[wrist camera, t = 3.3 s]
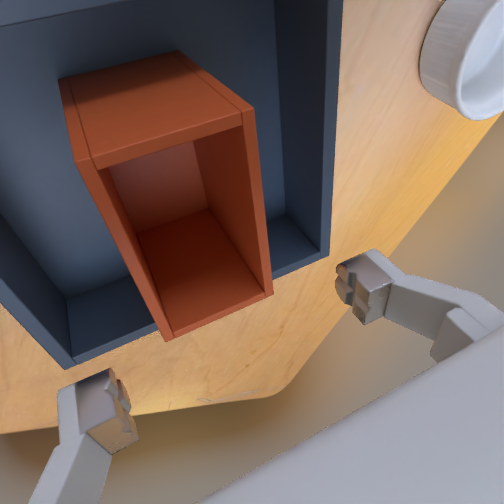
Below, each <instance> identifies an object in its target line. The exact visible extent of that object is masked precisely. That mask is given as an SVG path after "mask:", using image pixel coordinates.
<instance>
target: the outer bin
mask: <svg viewBox="0 0 504 504" xmlns="http://www.w3.org/2000/svg"><path fill="white" fill-rule="evenodd" d="M342 12H343V0H0V303H1V304H2V305H3V306H4V307H5V308H6V309H7V310H8V311H9V313H10V314H11V315H12V316H13V317H14V318H15V319H16V320H17V321H18V322H19V323H20V324H21V325H22V326H23V327H24V328H25V329H26V330H27V331H28V332H29V333H30V335H31V336H32V337H33V338H34V339H35V340H36V341H37V342H38V343H39V344H40V345H41V346H42V347H43V348H44V349H45V350H46V351H47V352H48V353H49V354H50V355H51V356H52V358H53V359H54V360H55V361H56V362H57V363H58V364H59V365H60V366H61V367H62V368H63V369H64V370H66V369H69V368H71V367H73V366H76V365H77V364H81V363H83V362H85V361H88V360H90V359H92V358H95V357H97V356H99V355H102V354H104V353H106V352H108V351H111V350H113V349H115V348H118V347H120V346H122V345H125V344H127V343H129V342H131V341H134V340H136V339H138V338H141V337H143V336H145V335H148V334H150V333H152V332H154V331H157V330H159V329H158V327H157V325H156V323H155V321H154V319H153V317H152V315H151V313H150V311H149V309H148V307H147V305H146V303H145V301H144V299H143V297H142V295H141V293H140V291H139V289H138V287H137V285H136V283H135V281H134V279H133V277H132V276H131V274H130V272H129V270H128V268H127V266H126V264H125V262H124V260H123V258H122V256H121V254H120V252H119V250H118V248H117V246H116V244H115V242H114V240H113V238H112V236H111V234H110V232H109V230H108V228H107V226H106V224H105V222H104V220H103V218H102V216H101V214H100V212H99V210H98V208H97V206H96V204H95V202H94V200H93V199H92V197H91V195H90V193H89V191H88V189H87V187H86V185H85V183H84V181H83V179H82V177H81V175H80V173H79V171H78V169H77V167H76V165H75V163H74V158H73V153H72V148H71V144H70V139H69V134H68V129H67V124H66V119H65V115H64V110H63V105H62V100H61V95H60V91H59V86H58V80H59V79H63V78H67V77H71V76H75V75H79V74H83V73H87V72H91V71H95V70H99V69H103V68H107V67H111V66H115V65H119V64H123V63H127V62H131V61H136V60H140V59H144V58H148V57H152V56H156V55H160V54H164V53H168V52H172V51H176V50H179V51H180V52H182V53H183V54H184V55H186V56H187V57H188V58H190V59H191V60H192V61H193V62H195V63H196V64H197V65H199V66H200V67H201V68H203V69H204V70H205V71H207V72H208V73H209V74H210V75H212V76H213V77H214V78H216V79H217V80H218V81H220V82H221V83H222V84H224V85H225V86H226V87H227V88H229V89H230V90H231V91H233V92H234V93H235V94H237V95H238V96H239V97H241V98H242V99H243V100H244V101H246V102H247V103H248V104H250V105H251V106H252V107H253V108H254V113H255V122H256V132H257V141H258V151H259V160H260V169H261V179H262V188H263V198H264V207H265V216H266V226H267V235H268V245H269V254H270V263H271V273H272V280H274V279H276V278H279V277H281V276H283V275H286V274H288V273H290V272H293V271H295V270H297V269H299V268H302V267H304V266H306V265H309V264H311V263H313V262H316V261H318V260H320V259H322V258H324V257H327V256H329V251H330V233H331V214H332V196H333V178H334V159H335V141H336V122H337V104H338V86H339V67H340V49H341V31H342Z"/></svg>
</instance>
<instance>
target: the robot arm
mask: <svg viewBox="0 0 504 504" xmlns="http://www.w3.org/2000/svg"><path fill="white" fill-rule="evenodd" d="M336 273H337V274H338V277H337V278H336V280H335V288H336V291H337V294H338V295H339V297H340V299H341V300H342V301H343V302H344V303H345V304H348V305H350V306H352V312H353V313H354V315H355V316H356V317H357V318H358V319H359V320H360V321H361V322H362V324H363V325H366V324H368V323H370V322H372V321H374V320H376V319H378V318H381V317H382V316H384V317H385V318H386V319H389V320H391V321H393V322H395V323H397V324H399V325H402V326H404V327H406V328H408V329H410V330H412V331H415V332H417V333H419V334H421V335H423V336H425V337H428V338H430V339H432V340H434V343H433V346H432V348H431V350H430V356H431V357H432V358H433V359H434V360H435V361H436V362H437V364H435V365H434V366H432V367H430V368H428V369H427V370H425V371H423V372H421V373H420V374H418V375H416V376H415V377H413V378H411V379H409V380H408V381H406V382H404V383H402V384H401V385H399V386H398V387H395V388H394V389H392V390H390V391H389V392H387V393H385V394H383V395H382V396H380V397H378V398H376V399H375V400H373V401H371V402H369V403H368V404H366V405H364V406H362V407H361V408H359V409H357V410H356V411H354V412H352V413H350V414H349V415H347V416H345V417H343V418H342V419H340V420H338V421H337V422H335V423H333V424H331V425H330V426H328V427H326V428H324V429H323V430H321V431H319V432H317V433H316V434H314V435H312V436H310V437H309V438H307V439H305V440H303V441H302V442H300V443H299V444H296V445H295V446H293V447H291V448H290V449H288V450H286V451H284V452H283V453H281V454H280V455H277V456H276V457H274V458H272V459H270V460H269V461H267V462H266V463H264V464H262V465H260V466H258V467H257V468H255V469H253V470H251V471H250V472H248V473H247V474H244V475H243V476H241V477H239V478H238V479H236V480H234V481H232V482H231V483H229V484H227V485H225V486H224V487H222V488H220V489H218V490H217V491H215V492H213V493H212V494H210V495H208V496H206V497H205V498H203V499H201V500H199V501H198V502H196V503H194V504H504V314H503V313H502V312H501V311H500V310H498V309H497V308H496V307H495V306H493V305H492V304H490V303H489V302H488V301H487V300H486V299H484V298H483V297H482V296H480V295H479V294H476V293H473V292H469V291H466V290H462V289H459V288H456V287H452V286H449V285H445V284H442V283H438V282H435V281H432V280H428V279H425V278H422V277H418V276H414V275H406V274H404V273H403V272H402V271H401V270H400V269H399V268H398V267H396V266H395V265H394V264H393V263H392V262H391V261H390V260H388V259H387V258H386V257H385V256H384V255H383V254H381V253H380V252H379V251H378V250H376V249H371V250H369V251H366V252H364V253H362V254H359V255H357V256H355V257H353V258H351V259H348V260H346V261H344V262H342V263H340V264H338V265H337V267H336ZM57 409H58V424H59V439H60V445H58V446H57V447H55V448H54V450H53V452H52V454H51V456H50V459H49V460H48V463H47V465H46V467H45V469H44V471H43V473H42V475H41V477H40V479H39V482H38V484H37V486H36V488H35V490H34V492H33V494H32V496H31V498H30V501H29V503H28V504H99V501H100V498H101V494H102V490H103V487H104V484H105V480H106V477H107V473H108V470H109V466H110V463H111V459H112V456H111V455H113V454H114V453H116V452H118V451H120V450H122V449H124V448H126V447H127V446H129V445H131V444H133V443H135V442H137V441H138V440H139V439H138V434H137V430H136V425H135V421H134V419H133V418H132V417H131V415H130V414H129V412H130V409H131V404H130V399H129V396H128V394H127V391H126V389H125V387H124V385H123V383H122V382H121V380H118V379H116V376H115V372H114V371H113V370H112V369H111V368H108V369H106V370H104V371H101V372H99V373H97V374H94V375H92V376H90V377H88V378H85V379H83V380H81V381H78V382H76V383H73V384H71V385H69V386H67V387H64V388H62V389H60V390H58V393H57Z"/></svg>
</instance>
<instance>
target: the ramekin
mask: <svg viewBox="0 0 504 504" xmlns="http://www.w3.org/2000/svg"><path fill="white" fill-rule="evenodd" d="M420 77H421V81H422V84H423V86H424V88H425V89H426V90H427V92H429V93H430V94H431V95H432V96H434V97H435V98H437V99H439V100H441V101H443V102H444V103H446V104H448V105H450V106H452V107H453V108H455V109H456V110H457V111H458V112H459V113H460V114H461V115H463V116H464V117H466V118H468V119H470V120H476V121H477V120H478V121H479V120H485V119H488V118H490V117H493V116H495V115H497V114H499V113H500V112H502V111H503V110H504V0H446V1H445V2H444V4H443V5H442V7H441V8H440V10H439V11H438V13H437V14H436V16H435V18H434V20H433V21H432V23H431V25H430V28H429V30H428V32H427V35H426V37H425V40H424V43H423V46H422V51H421V56H420Z"/></svg>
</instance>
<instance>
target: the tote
mask: <svg viewBox="0 0 504 504" xmlns="http://www.w3.org/2000/svg"><path fill="white" fill-rule="evenodd" d="M58 86H59V91H60V95H61V100H62V105H63V110H64V115H65V119H66V124H67V129H68V134H69V139H70V144H71V148H72V153H73V158H74V163H75V165H76V167H77V169H78V171H79V173H80V175H81V177H82V179H83V181H84V183H85V185H86V187H87V189H88V191H89V193H90V195H91V197H92V199H93V200H94V202H95V204H96V206H97V208H98V210H99V212H100V214H101V216H102V218H103V220H104V222H105V224H106V226H107V228H108V230H109V232H110V234H111V236H112V238H113V240H114V242H115V244H116V246H117V248H118V250H119V252H120V254H121V256H122V258H123V260H124V262H125V264H126V266H127V268H128V270H129V272H130V274H131V276H132V277H133V279H134V281H135V283H136V285H137V287H138V289H139V291H140V293H141V295H142V297H143V299H144V301H145V303H146V305H147V307H148V309H149V311H150V313H151V315H152V317H153V319H154V321H155V323H156V325H157V327H158V329H159V331H160V333H161V335H162V337H163V339H164V341H165V342H168V341H170V340H173V339H174V338H177V337H179V336H182V335H184V334H186V333H188V332H190V331H193V330H195V329H197V328H199V327H202V326H204V325H206V324H208V323H211V322H213V321H215V320H217V319H220V318H222V317H224V316H226V315H229V314H231V313H233V312H235V311H238V310H240V309H242V308H244V307H247V306H249V305H251V304H253V303H256V302H258V301H260V300H262V299H265V297H266V298H267V297H269V296H271V295H273V294H274V292H273V282H272V273H271V263H270V254H269V245H268V235H267V226H266V216H265V207H264V198H263V188H262V179H261V169H260V160H259V151H258V141H257V132H256V122H255V113H254V108H253V107H252V106H251V105H250V104H248V103H247V102H246V101H244V100H243V99H242V98H241V97H239V96H238V95H237V94H235V93H234V92H233V91H231V90H230V89H229V88H227V87H226V86H225V85H224V84H222V83H221V82H220V81H218V80H217V79H216V78H214V77H213V76H212V75H210V74H209V73H208V72H207V71H205V70H204V69H203V68H201V67H200V66H199V65H197V64H196V63H195V62H193V61H192V60H191V59H190V58H188V57H187V56H186V55H184V54H183V53H182V52H180V51H179V50H176V51H172V52H168V53H164V54H160V55H156V56H152V57H148V58H144V59H140V60H136V61H131V62H127V63H123V64H119V65H115V66H111V67H107V68H103V69H99V70H95V71H91V72H87V73H83V74H79V75H75V76H71V77H67V78H63V79H59V80H58Z"/></svg>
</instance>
